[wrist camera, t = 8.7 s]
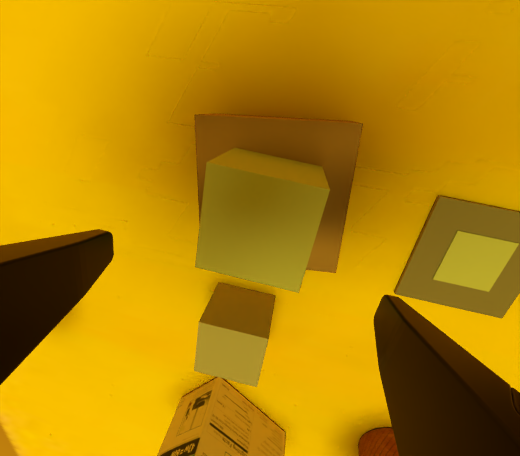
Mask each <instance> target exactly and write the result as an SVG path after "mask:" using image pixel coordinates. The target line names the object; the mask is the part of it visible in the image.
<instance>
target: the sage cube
mask: <svg viewBox="0 0 520 456" xmlns="http://www.w3.org/2000/svg"><path fill="white" fill-rule="evenodd" d="M329 191H330V188H329V185H328V182H327V179H326V176H325V173H324V170H323V167H321V166H316V165H312V164H307V163H303V162H298V161H294V160H289V159H285V158H280V157H275V156H271V155H266V154H262V153H257V152H253V151H248V150H244V149H239V148H233V149H231V150H230V151H228V152H226V153H224V154H222V155H220V156H218V157H216V158H214V159H212V160H210V161H208V162H207V163H206V173H205V182H204V191H203V200H202V209H201V218H200V227H199V236H198V245H197V254H196V264H195V267H197V268H201V269H205V270H209V271H213V272H217V273H221V274H225V275H229V276H233V277H237V278H241V279H245V280H249V281H254V282H258V283H262V284H266V285H270V286H274V287H278V288H282V289H286V290H290V291H294V292H298V293H299V290H300V287H301V284H302V280H303V277H304V274H305V270H306V267H307V264H308V261H309V257H310V254H311V251H312V247H313V244H314V241H315V238H316V234H317V231H318V228H319V224H320V221H321V218H322V214H323V211H324V208H325V205H326V201H327V198H328V195H329Z"/></svg>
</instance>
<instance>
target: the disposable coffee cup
mask: <svg viewBox="0 0 520 456" xmlns="http://www.w3.org/2000/svg"><path fill="white" fill-rule="evenodd" d="M358 448H359V456H399V455H398V450H397V446H396V441H395V437H394V433H393V428H380V429H375V430H372V431H369V432H367V433H366V434H364V435H363V436H362V437H361V439H360V440H359V443H358Z"/></svg>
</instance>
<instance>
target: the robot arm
mask: <svg viewBox="0 0 520 456" xmlns="http://www.w3.org/2000/svg"><path fill="white" fill-rule="evenodd" d="M113 255H114V251H113V236H112V234H111V233H110V232H109V231H104V230H100V229H97V230H91V231H85V232H79V233H73V234H67V235H61V236H55V237H49V238H43V239H37V240H31V241H25V242H19V243H13V244H7V245H1V246H0V385H1V384H2V383H3V382H4V381H5V380H6V378H7V377H8V376H9V375H10V374H11V373H12V372H13V371H14V370H15V369H16V368H17V367H18V366H19V365H20V364H21V363H22V361H23V360H24V359H25V358H26V357H27V356H28V355H29V354H30V353H31V352H32V351H33V350H34V349H35V348H36V347H37V346H38V345H39V343H40V342H41V341H42V340H43V339H44V338H45V337H46V336H47V335H48V334H49V333H50V332H51V331H52V330H53V329H54V328H55V326H56V325H57V324H58V323H59V322H60V321H61V320H62V319H63V318H64V317H65V316H66V315H67V314H68V313H69V312H70V311H71V310H72V308H73V307H74V306H75V305H76V304H77V303H78V302H79V301H80V300H81V299H82V298H83V297H84V295H85V294H86V293H87V292H88V291H89V289H90V288H91V287H92V285H93V284H94V283H95V281H96V280H97V279H98V278H99V276H100V275H101V274H102V272H103V271H104V270H105V268H106V267H107V266H108V265H109V263H110V262H111V260H112V258H113ZM374 330H375V339H376V348H377V357H378V365H379V371H380V376H381V380H382V384H383V389H384V393H385V397H386V402H387V406H388V411H389V415H390V419H391V424H392V428H393V433H394V437H395V441H396V446H397V450H398V455H399V456H520V393H519V392H518V391H517V390H516V389H514V388H511V387H510V385H509V384H508V383H507V382H505V381H504V380H503V379H502V378H500V377H499V376H498V375H496V374H495V373H494V372H493V371H491V370H490V369H489V368H488V367H486V366H485V365H484V364H483V363H481V362H480V361H479V360H477V359H476V358H475V357H474V356H472V355H471V354H470V353H469V352H467V351H466V350H465V349H464V348H462V347H461V346H460V345H458V344H457V343H456V342H455V341H453V340H452V339H451V338H450V337H448V336H447V335H446V334H444V333H443V332H442V331H441V330H439V329H438V328H437V327H436V326H434V325H433V324H432V323H431V322H429V321H428V320H427V319H425V318H424V317H423V316H422V315H420V314H419V313H418V312H417V311H415V310H414V309H413V308H412V307H410V306H409V305H408V304H406V303H405V302H404V301H403V300H401V299H400V298H399V297H395V296H391V295H384V296H383V297H382V299H381V301H380V304H379V306H378V308H377V310H376V313H375V315H374Z"/></svg>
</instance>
